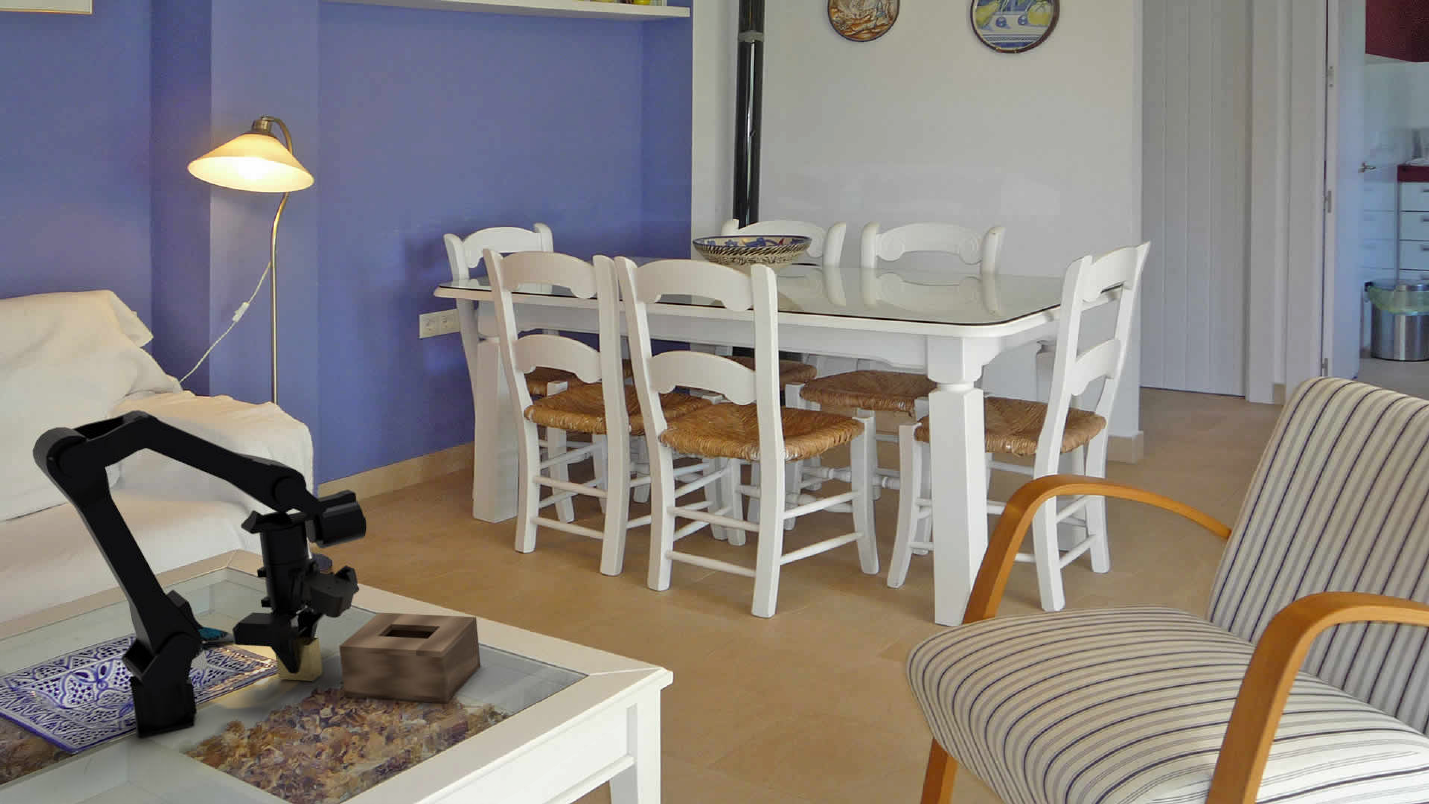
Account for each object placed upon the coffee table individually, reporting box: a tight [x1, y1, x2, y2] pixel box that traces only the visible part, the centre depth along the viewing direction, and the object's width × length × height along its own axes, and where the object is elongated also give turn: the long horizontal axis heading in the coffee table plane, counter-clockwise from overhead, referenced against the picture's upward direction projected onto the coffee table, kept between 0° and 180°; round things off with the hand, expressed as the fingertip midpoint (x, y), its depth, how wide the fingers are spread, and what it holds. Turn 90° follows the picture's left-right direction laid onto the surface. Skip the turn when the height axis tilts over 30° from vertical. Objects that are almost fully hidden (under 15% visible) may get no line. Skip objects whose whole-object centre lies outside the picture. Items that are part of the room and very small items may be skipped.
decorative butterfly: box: [190, 612, 234, 671], centre depth 176 cm, size 10×6×10 cm
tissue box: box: [338, 612, 482, 704], centre depth 164 cm, size 14×11×7 cm
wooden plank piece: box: [275, 637, 323, 682], centre depth 166 cm, size 5×2×5 cm, turn 78°
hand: (299, 668), depth 166 cm, fingers closed on wooden plank piece, 2 cm apart
